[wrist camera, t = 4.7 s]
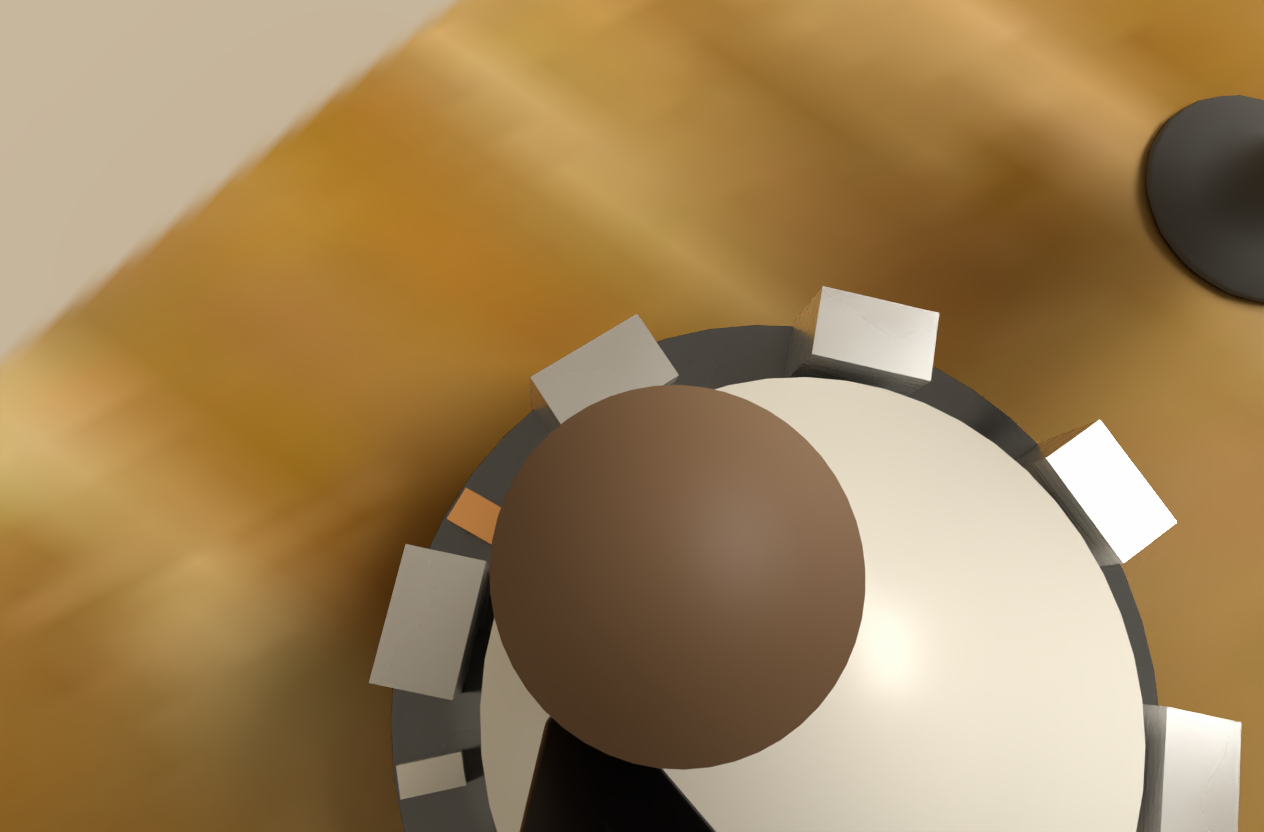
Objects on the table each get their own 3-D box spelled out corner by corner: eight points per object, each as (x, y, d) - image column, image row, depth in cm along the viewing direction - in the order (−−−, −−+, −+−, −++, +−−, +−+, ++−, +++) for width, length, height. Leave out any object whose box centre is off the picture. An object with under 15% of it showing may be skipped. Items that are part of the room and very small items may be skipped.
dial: (992, 1151, 14) (1908, 2187, 5) (375, 890, 14) (50, 1402, 5) (1149, 534, 16) (1941, 400, 7) (629, 313, 16) (751, -109, 7)
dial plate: (1200, 991, 16) (1362, 1077, 13) (464, 1197, 14) (444, 1357, 11) (999, 305, 19) (1093, 239, 16) (359, 406, 17) (319, 353, 14)
